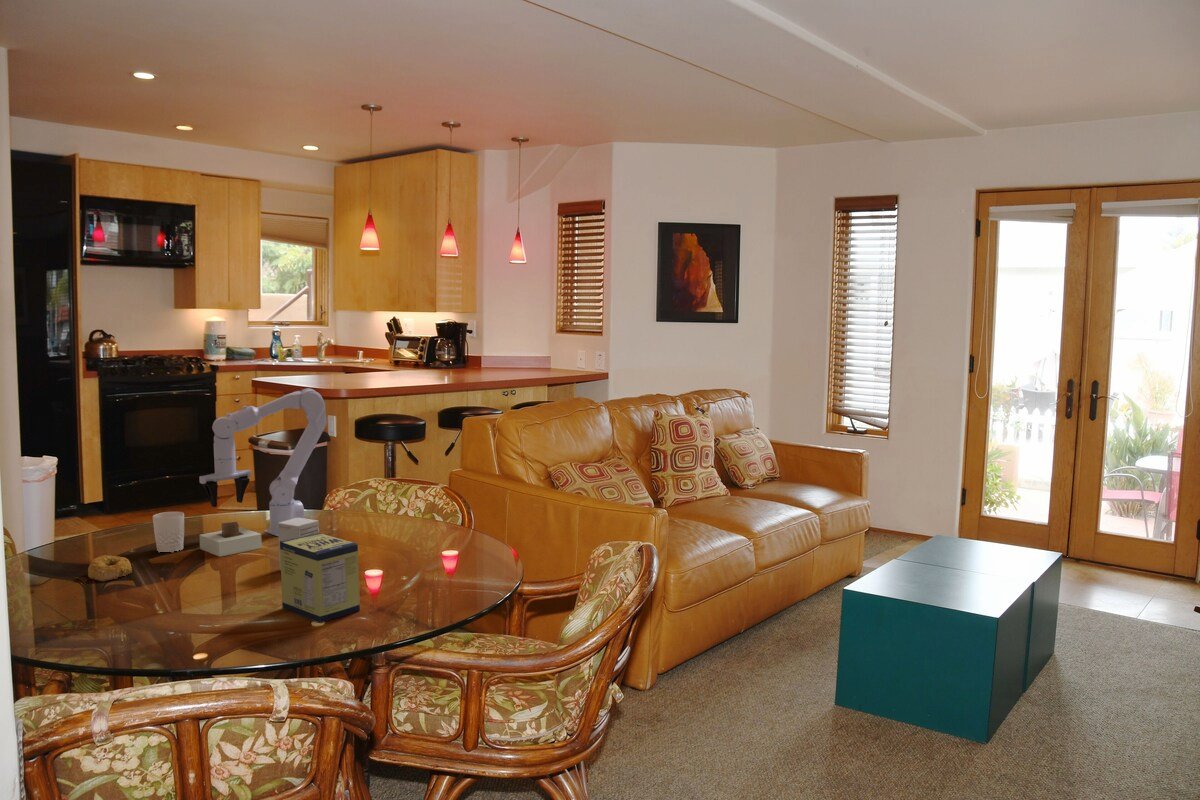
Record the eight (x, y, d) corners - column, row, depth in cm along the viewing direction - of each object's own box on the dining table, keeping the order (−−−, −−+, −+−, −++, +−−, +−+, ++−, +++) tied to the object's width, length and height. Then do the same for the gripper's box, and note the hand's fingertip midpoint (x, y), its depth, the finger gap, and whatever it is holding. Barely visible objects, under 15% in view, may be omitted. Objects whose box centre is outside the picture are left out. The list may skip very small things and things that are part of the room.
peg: (237, 545, 255) (236, 521, 254) (239, 549, 251) (238, 524, 251) (222, 547, 253) (221, 523, 252) (224, 551, 249) (223, 526, 249)
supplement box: (278, 570, 231) (276, 522, 230) (300, 563, 238) (298, 516, 237) (299, 574, 228) (297, 525, 227) (321, 567, 235) (319, 519, 233)
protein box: (321, 596, 211) (319, 531, 209) (361, 611, 201) (359, 543, 200) (280, 608, 203) (278, 541, 201) (320, 623, 193) (318, 553, 191)
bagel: (82, 583, 220) (81, 564, 220) (94, 571, 231) (93, 553, 231) (126, 581, 223) (126, 562, 223) (136, 569, 234) (136, 551, 233)
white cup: (177, 553, 247) (175, 518, 245) (148, 553, 247) (147, 518, 246) (191, 546, 254) (189, 511, 253) (163, 546, 255) (161, 511, 254)
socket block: (241, 540, 261) (240, 526, 260) (261, 548, 253) (261, 534, 252) (200, 548, 252) (199, 534, 251) (219, 556, 244) (219, 542, 243)
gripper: (242, 453, 269) (244, 498, 271) (193, 460, 259) (196, 506, 260) (253, 456, 265) (255, 501, 266) (204, 462, 254) (207, 510, 255)
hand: (227, 504), depth 263 cm, fingers open, 7 cm apart
